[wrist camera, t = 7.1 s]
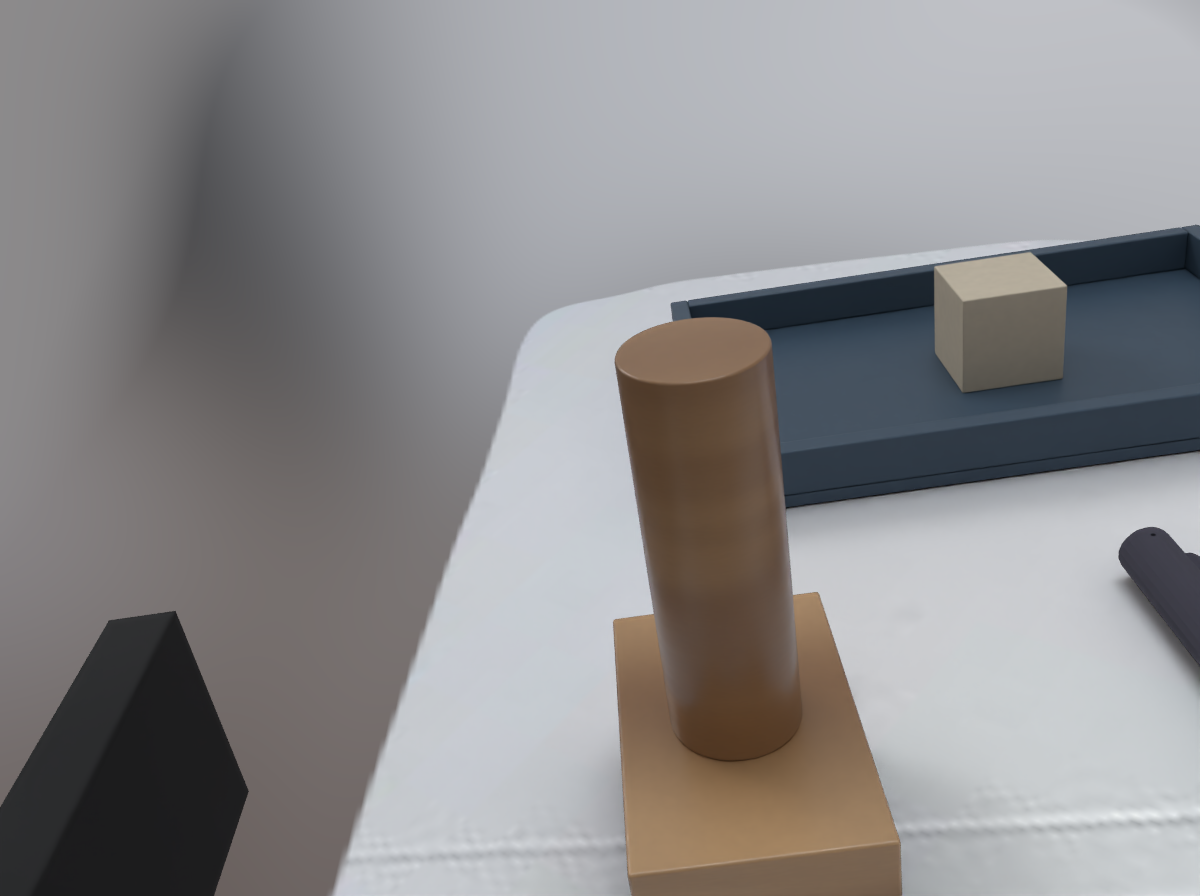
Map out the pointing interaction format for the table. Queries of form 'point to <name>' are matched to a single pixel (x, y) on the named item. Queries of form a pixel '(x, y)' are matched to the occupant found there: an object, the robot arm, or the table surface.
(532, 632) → the table surface
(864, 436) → the tray
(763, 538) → the wooden rubber stamp
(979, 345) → the beige cube block
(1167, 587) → the bracket
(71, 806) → the robot arm
